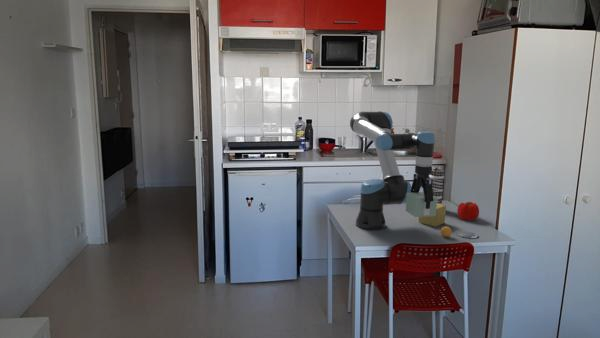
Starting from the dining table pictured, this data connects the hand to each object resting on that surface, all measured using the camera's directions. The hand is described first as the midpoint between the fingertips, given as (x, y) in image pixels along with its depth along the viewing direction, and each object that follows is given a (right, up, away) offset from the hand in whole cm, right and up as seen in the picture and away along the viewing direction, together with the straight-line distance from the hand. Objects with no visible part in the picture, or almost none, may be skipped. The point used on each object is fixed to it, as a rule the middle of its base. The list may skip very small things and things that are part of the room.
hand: (420, 211), depth 212 cm
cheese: (+13, -9, +27) cm, 31 cm away
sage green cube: (0, -1, 0) cm, 1 cm away
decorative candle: (+22, -4, +52) cm, 56 cm away
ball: (+14, -10, +5) cm, 18 cm away
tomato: (+35, -8, +35) cm, 50 cm away
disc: (+26, -12, +9) cm, 30 cm away
